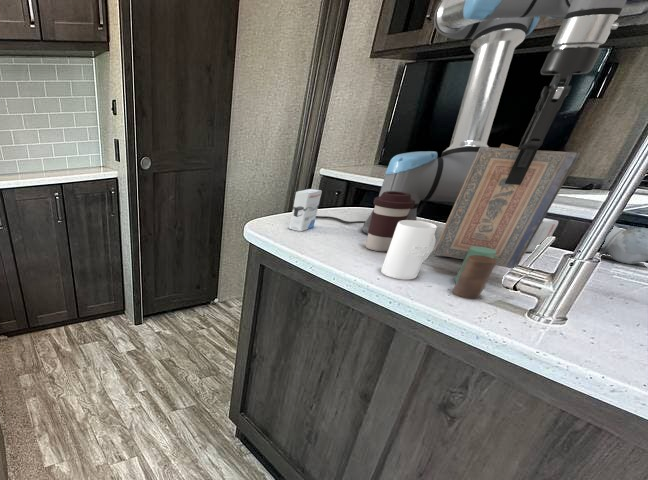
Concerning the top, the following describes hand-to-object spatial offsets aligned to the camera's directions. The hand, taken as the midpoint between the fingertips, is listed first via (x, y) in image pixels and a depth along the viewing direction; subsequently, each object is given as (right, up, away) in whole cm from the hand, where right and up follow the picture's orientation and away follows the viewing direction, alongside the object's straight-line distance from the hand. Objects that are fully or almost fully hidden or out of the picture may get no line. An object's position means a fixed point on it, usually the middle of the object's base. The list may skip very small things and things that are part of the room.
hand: (511, 181), depth 88 cm
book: (-1, -15, +9) cm, 18 cm away
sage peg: (-5, -21, +6) cm, 23 cm away
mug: (-16, -18, +12) cm, 27 cm away
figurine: (+44, -5, +22) cm, 49 cm away
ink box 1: (-29, +7, +47) cm, 55 cm away
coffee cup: (-13, -6, +28) cm, 32 cm away
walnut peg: (-10, -25, +1) cm, 27 cm away
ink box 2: (+21, -4, +24) cm, 32 cm away
